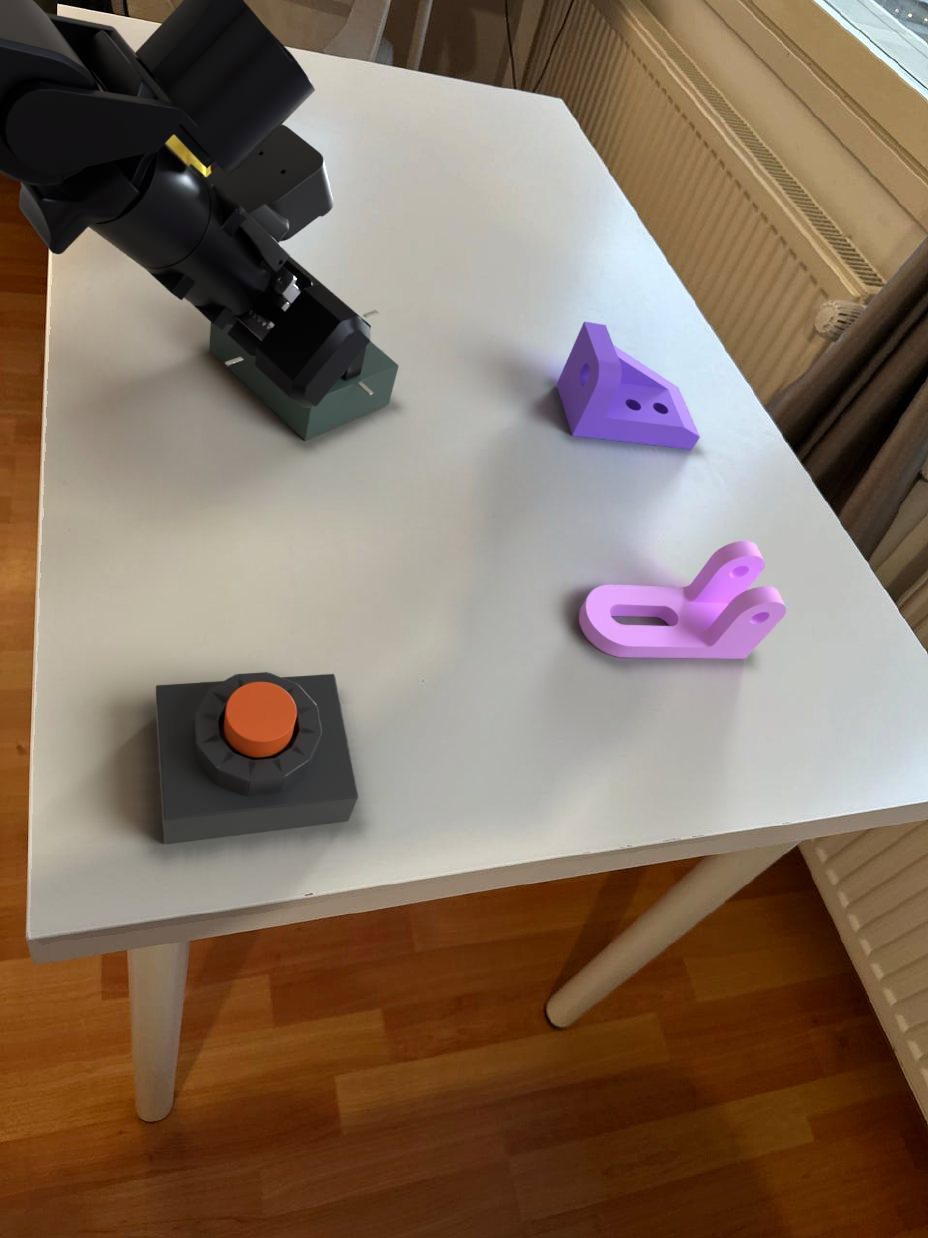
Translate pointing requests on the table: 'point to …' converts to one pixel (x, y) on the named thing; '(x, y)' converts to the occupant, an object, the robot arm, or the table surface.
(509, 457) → the table surface
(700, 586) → the bracket
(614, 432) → the bracket
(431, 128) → the table surface
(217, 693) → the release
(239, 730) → the release button
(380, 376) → the dark green flat block
